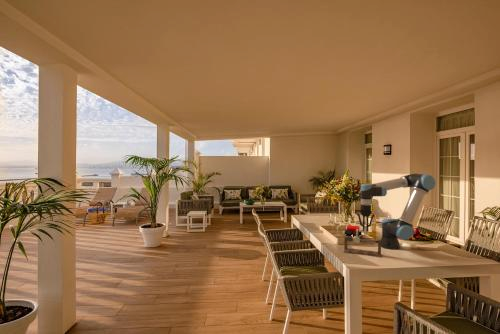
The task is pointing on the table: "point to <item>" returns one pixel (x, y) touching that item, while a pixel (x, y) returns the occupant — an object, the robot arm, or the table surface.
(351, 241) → the rod
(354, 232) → the red-and-black block model
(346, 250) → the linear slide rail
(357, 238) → the cream t-shaped block
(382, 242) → the robot arm
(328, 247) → the table surface
